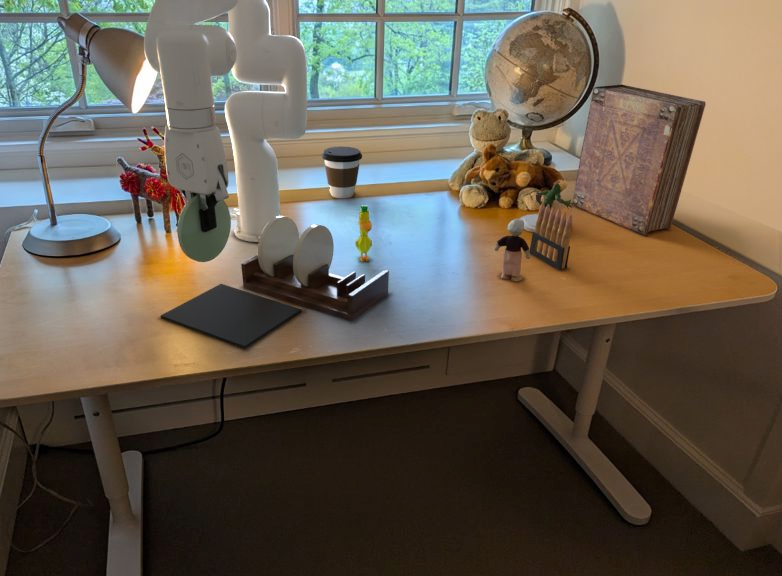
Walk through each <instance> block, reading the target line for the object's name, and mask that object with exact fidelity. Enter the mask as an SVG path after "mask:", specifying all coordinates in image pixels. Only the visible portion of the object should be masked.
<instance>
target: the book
mask: <svg viewBox="0 0 782 576" xmlns="http://www.w3.org/2000/svg"><path fill="white" fill-rule="evenodd" d="M706 104H707V103H706V101H704V100H700V99H695V98H690V97H685V96H679V95H674V94H671V93H665V92H660V91H656V90H652V89H651V90H650V89H645V88H641V87H636V86H631V85H628V84H627V85H626V84H612V85H604V86H603V85H601V86H594V87H593V89H592V94H591V98H590V104H589V110H588V115H587V121H586V126H585V131H584V137H583V143H582V148H581V154H580V159H579V164H578V168H577V174H576V181H575V185H574V191H573V197H572V200H571V201H572V202H571V203H573V204H571V206H573V207H576V208H578V209H581V210H583V211H584V212H588V213H590V214H592V215H594V216H597V217H599V218H602V219H603V220H606V221H609V222H611V223H612V224H616V225H618V226H620V227H622V228H625V229H627V230H629V231H632V232H634V233H636V234H638V235H641V236H643V237H645V236H646V235H647V234H648V233H649V232H655V231H659V230H663V229H664V230H666V231H669V230H671V229H672V225H673V221H674V217H675V215H676V211H677V207H678V205H679V200H680V197H681V193H682V189H683V186H684V182H685V179H686V175H687V172H688V169H689V165H690V161H691V158H692V156H693V155H692V154H693V150H694V148H695V143H696V140H697V136H698V134H699V133H698V132H699V129H700V127H701V122H702V119H703V115H704V112H705V108H706Z"/></svg>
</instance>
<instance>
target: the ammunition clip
mask: <svg viewBox="0 0 782 576" xmlns="http://www.w3.org/2000/svg"><path fill="white" fill-rule="evenodd" d="M541 202H542V204H541V205H539V210H538V213H537V214H538V218H537V220H536V226H535V232H532V236H531V240H530V246H529V251H530V255H531V256H533V257H535V258H537V259H539V260H541V261H542V262H544V263H546V264H547V265H549V266H551V267H553V268H554V269H556V270H558V271H562V270H566V269H567V268H568V262H569V256H570V250H571V246H570V242H571V236H572V226H573V216H572V214H569V216H568V217H567V212H566V211H564V212H563V214H562V211H561V209H560V208H559V209H558V210H557V211H556V207H555V206H552V207H551V209H550V205H549V204H548V205H547V207H546V209H545V205H544V201H541ZM544 211H545V213H544ZM549 216H550V217H549ZM555 216H556V217H555ZM560 220H561V221H560Z"/></svg>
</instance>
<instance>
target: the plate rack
mask: <svg viewBox="0 0 782 576" xmlns="http://www.w3.org/2000/svg"><path fill="white" fill-rule="evenodd" d="M293 257H294V255H290V256H288V257H286V258H285V259H283V260H281V261H279V262H277V263H275V264H274V276H275V277H273V276H269V275H267V274H265V273H264V272H263V270H262V269H261V267H260V265H259V261H258V254H257V255H254V256H253V257H251V258H249V259H247V260H245V261H243V262H241V263H240V266H241V267H240V269H241V278H242V286H243V287H242V288H244V289H247V290H250V291H254V292H257V293H260V294H263V295H267V296H270V297H272V298H276V299H279V300H283V301H285V302H289V303H292V304H296V305H298V306H301V307H305V308H308V309H311V310H313V311H318V312H319V313H320V312H321V313H324V314H327V315H329V316H334V317H337V318H340V319H343V320H346V321H349V322H352V323H353V322H354V321H356V320H357V319H358V318H359V317H361V316H362V315H364V314H365V313H366V312H368V311H369V310H370V309H371V308H373V307H375V306H376V304H378V303H379V302H380V301H382V300H383V299H385V298H386V297H387V296H388V295H389V280H390V279H389V278H390V277H389V276H390V271H389V270H387V269H383V270H382V271H381V272H379V273H378V274H376V275H374V277H372V278H370V279H369V280H367V281H366V274H365V273H362V274H360V275H359V276H357V271H352V272H350V273H349V274H347V275H346V276H342V275H341V276H340V275H338V274H334V273H332V272H330V268H329V264H326V265H324V266H322V267H320V268H319V269H317V270H315V271H314V272H312V273H310V274H309V287H306V286H303V285H301V284H300V283H299V282H298V281H297V279H296V277H295V275H294V270H293Z"/></svg>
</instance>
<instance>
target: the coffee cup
mask: <svg viewBox="0 0 782 576" xmlns="http://www.w3.org/2000/svg"><path fill="white" fill-rule="evenodd" d="M321 158H322V159H323V160H324V168H325V169H324V170H325V174H326V180H327V185H328V188H329V187H330V189H329V193H330V195H331V197H333V198H336V199H348V198H352V197H353V196H354V194H355V192H356V191H355V190H356V185H357V182H358V176H359V170H360V160H362V159H363V154H362V152H361V150H360V149H359V148H356V147H351V146H332V147H328V148H325V149H324V150H323V151H322V154H321Z"/></svg>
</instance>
